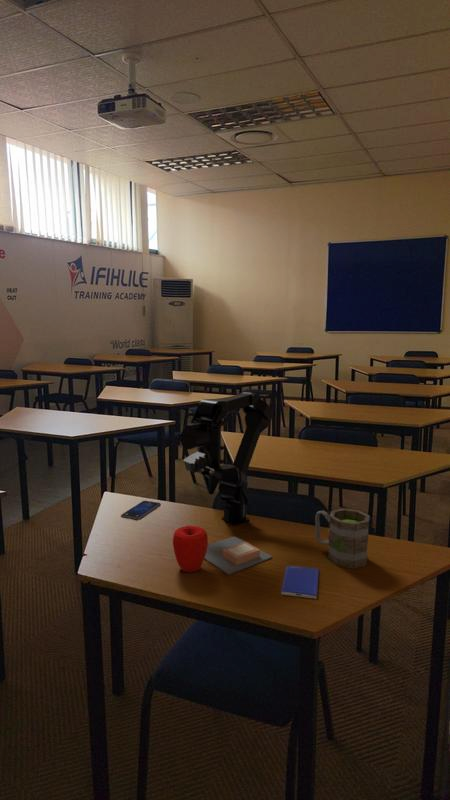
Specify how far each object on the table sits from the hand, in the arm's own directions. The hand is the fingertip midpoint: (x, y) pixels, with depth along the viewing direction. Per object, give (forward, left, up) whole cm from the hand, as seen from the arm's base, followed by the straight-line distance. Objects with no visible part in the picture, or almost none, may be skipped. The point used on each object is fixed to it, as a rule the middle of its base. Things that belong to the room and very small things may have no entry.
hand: (210, 494), depth 149 cm
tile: (+3, +15, -11) cm, 19 cm away
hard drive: (0, +37, -13) cm, 39 cm away
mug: (-19, +33, -12) cm, 40 cm away
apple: (+17, +14, -12) cm, 25 cm away
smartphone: (+8, -28, -13) cm, 32 cm away
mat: (+4, +15, -12) cm, 20 cm away
